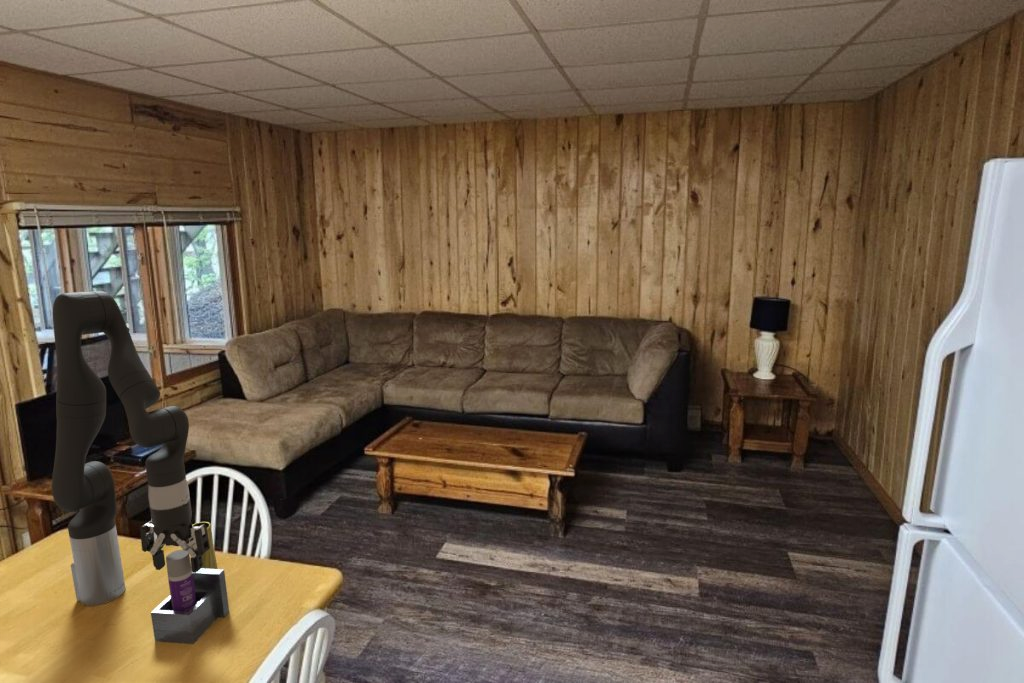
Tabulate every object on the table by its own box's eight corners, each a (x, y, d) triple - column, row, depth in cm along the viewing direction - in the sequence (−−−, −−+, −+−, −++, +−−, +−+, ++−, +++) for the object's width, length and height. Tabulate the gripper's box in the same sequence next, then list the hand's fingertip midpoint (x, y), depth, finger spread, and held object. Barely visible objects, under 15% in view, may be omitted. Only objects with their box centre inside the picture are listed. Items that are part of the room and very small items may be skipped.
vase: (186, 582, 155) (179, 530, 152) (206, 569, 160) (200, 519, 158) (204, 587, 153) (197, 534, 150) (224, 574, 158) (218, 523, 155)
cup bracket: (148, 640, 133) (141, 595, 131) (181, 609, 144) (175, 566, 142) (200, 644, 132) (193, 598, 130) (229, 612, 143) (224, 569, 140)
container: (187, 624, 134) (179, 561, 131) (169, 622, 135) (160, 559, 132) (202, 611, 138) (194, 550, 135) (184, 608, 139) (175, 548, 136)
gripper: (126, 506, 128) (136, 577, 131) (189, 510, 126) (198, 581, 130) (151, 491, 135) (160, 558, 139) (211, 493, 134) (219, 561, 137)
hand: (178, 569), depth 134 cm, fingers open, 8 cm apart
